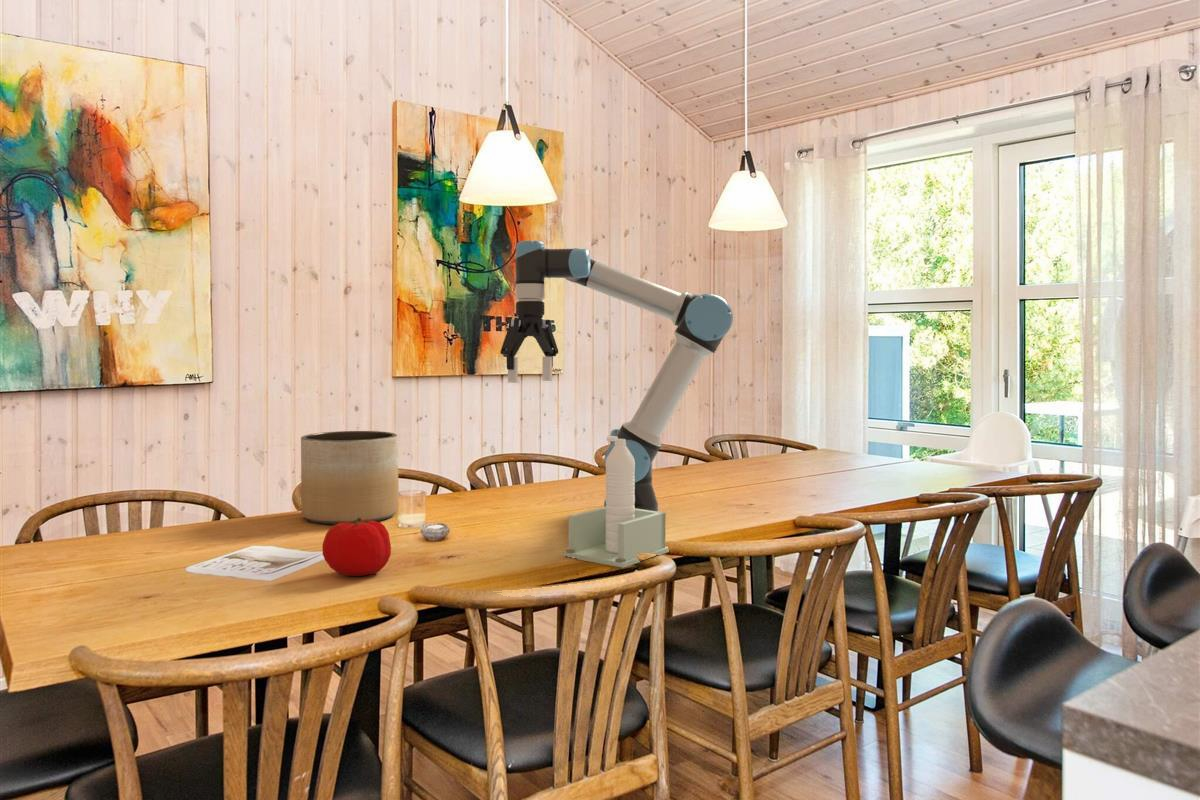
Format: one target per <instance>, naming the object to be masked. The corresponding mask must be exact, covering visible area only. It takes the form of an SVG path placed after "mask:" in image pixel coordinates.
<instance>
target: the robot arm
mask: <svg viewBox="0 0 1200 800" xmlns="http://www.w3.org/2000/svg"><path fill="white" fill-rule="evenodd" d="M515 247H516V248H515V258H514V262H515V263H514V264H515V299H516V300H517V301H516V303H515V315H516V316H517V318H509V320H508V328H507V331H506V334H505V336H504V340H503V342H502V345H501V348H500V350H499V351H500V355H502V357H504V358H506V370H507V383H511V384H512V383H516V384H517V383H519V382H518V381H519V380H518V376H519V375H518V373H519V371H518V370H519V369H518V365H519V364H518V356H516V355H517V354H518V351H519V350H520V348H521V346H522V344H523V343H524V341H525V339H526V338H528V337H533V338H535V341H536V342H537V344H538V345H539V348H540V350H541V351H542V353H543V354H544V355H543V356H542V358H541V359H542V362H541V363H542V381H544V382H551V381H552V380H553V367H554V363H553V362H554V360H553V359H554V357H556V356H557V355H558V354H559V349H558V346H557V342H556V339H555V336H554V334H553V330H552V326H551V325H552V324H551V319H543V316H545V302H544V301H543V300H544V299H545V298H546V297H545V295H546V293H545V279H551V278H553V279H557V278H558V279H565V280H566V281H569V282H571V283H575V284H578V285H579V286H583V287H586V288H589V289H591V290H594V291H595V292H596V291H597V292H599V293H602V294H605V295H606V296H609V297H612V298H614V299H616V300H620V301H622V302H624V303H627V304H630V305H632V306H635V307H637V308H640V309H643V310H645V311H648V312H651V313H654V314H656V315H658V316H661V317H663V318H666V319H669V320H670V321H671V322H672V325H674V326H676V329H675V331H674V337H675V342H674V344H673V346H672V347H671V350H670V351H669V353H668V355H667V356H666V358H665V359H664V362H663V363H662V365H661V367H660V368H659V371H658V373H657V374H656V376H655V377H654V379H653V381H652V383H651V384H650V387H649V388H648V390H647V392H646V394H645V396H644V397H643V399H642V401H641V402H640V404H639V407H638V408H637V410H636V412H635V414H633V417H632V419H631V420H630V421H626V422H623V423H622V425H621V426H620V427H619V428H618V429H617V428H616V429H612V430H611V431H610V435H609V436H617V437H618V439H625V440H626V442H625V443H626V446H627V448H628V449H629V451H630V453H631V454H632V456H633V457H634V460H635V471H634V472H635V475H634V476H635V478H634V479H635V482H634V483H635V486H634V487H635V489H634V490H635V493H634V494H635V503H634V505H635V508H636V509H643V510H650V511H657V512H659V503H658V500H657V496H656V493H655V490H654V487H653V462H654V460H655V458H656V457H657V454H658V453H659V450H660V449H661V447H662V443H661V435H662V434H663V432H664V431H665V429H666V427H667V425H668V423H669V422H670V420H671V418H672V416H673V415H674V413H675V411H676V410H677V408H678V406H679V404H680V402H681V400H682V398H683V397H684V395H685V393H686V391H687V390H688V388H689V387H690V385H691V382H692V381H693V379H694V377H695V376H696V374H697V372H698V370H699V369H700V367H701V365H702V363H703V362H704V360H705V359H706V357H710V356H712V355H715V353H716V351H717V349H718V347H719V345H720V344H721V342H722V341H723V338H724V337H725V335H726V334H728V332H729V331H730V329H731V328H732V325H733V318H734V317H733V316H734V314H733V310H732V308H731V306H730V304H729V302H727V300H726V299H724V298H723V297H721V296H719V295H716V294H714V293H703V294H700V295H698V294H694V293H691V292H688V291H684V292H677V291H675V290H673V289H670V288H668V287H665V286H662V285H659V284H657V283H655V282H652V281H649V280H646V279H644V278H641V277H638V276H636V275H634V274H630V273H628V272H625V271H623V270H620V269H618V268H615V267H612V266H610V265H607V264H604V263H602V262H599V261H596V260H594V259H592V258H591V254H590V251H589V250H588V249H587V248H577V247H574V248H546V247H545V243H544V241H540V240H520V241H518V242H517V243H516V245H515ZM609 443H610V445H609V446H608V447H607V448H606V451H605V453H604V457H603V460H604V467H605V468H606V459H607V457H608V455H609V453H610V452H611V450H612V449H613V447H614V446H615V441H609ZM603 507H606V498H605V500H604V503H603Z"/></svg>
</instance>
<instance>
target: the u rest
mask: <svg viewBox="0 0 1200 800" xmlns="http://www.w3.org/2000/svg"><path fill="white" fill-rule="evenodd" d="M634 514H635V519H633V520H629V521H626V522H622V523H619V524H618V553H611V552H608V551H606V507H604V506H603V507H599V508H595V509H590V510H586V511H583V512H579V513H574V514H570V515H568V549H565V551H564V553H563V557H564V556H568V557H567V558H569V557H574V558H577V559H576V560H579V561H586V562H590V563H595V564H601V565H605V566H606V565H607V566H612V567H616V568H622V569H625V568H626V567H630V566H632V565H636V564H638V563H641V562H640V561H639V559H638V558H637V557H636V556H637V554H638V553H650V554H656V555H659V556H661V555H664V554H667V553H669V548H668V547H669V546H666V524H667V523H666V512H662V511H658V512H657V511H650V510H643V509H636V508H635V512H634ZM574 558H573V559H574Z"/></svg>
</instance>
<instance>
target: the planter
mask: <svg viewBox="0 0 1200 800" xmlns="http://www.w3.org/2000/svg"><path fill="white" fill-rule="evenodd" d="M398 455H399V454H398V435H397V434H396V433H394V432H389V431H381V430H380V431H379V430H378V431H377V430H345V431H343V430H341V431H326V432H316V433H310V434H305V435H303V436H301V437H300V463H301V464H300V471H301V472H300V474H301V475H300V493H301V494H300V497H301V498H300V503H301V504H300V506H301V515H302V516H303V518H304V519H306V520H307V521H310V522H312V523H317V524H323V525H336V524H339V523H340V522H345V521H354V520H355V519H357V518H361V519H369V520H373V521H376V522H380V521H383V520H386V519H389V518H391V517H393V516H394V515H395V514H396V513H397V512H398V511H399V509H398V498H399V499H400V497H399V496H400V492H399V461H398V460H399V457H398Z"/></svg>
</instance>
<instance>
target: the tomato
mask: <svg viewBox="0 0 1200 800" xmlns="http://www.w3.org/2000/svg"><path fill="white" fill-rule="evenodd" d="M390 540H391V539H390V534H389V532H388V530H387V528H386V526H385V524H383V523H382V522H380V521H373V520H369V519H361V518H357V519H355V520H354V521H345V522H340V523H339V524H333V526H331V527H330V528H329V529H328V531H327V532H326V534H325V536H324V539H323V542H322V555H323V558H324V561H325V563H326V564H327V565H328V566H329V568H331V569H332V570H333V571H334V572H336V573H337V574H341V575H345V576H348V577H361V576H368V575H372V574H376V573H378V572H380V571H381V570H383V568H385V566H386V564H388V562H389V559H390V557H391V554H392V546H391V541H390Z"/></svg>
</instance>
